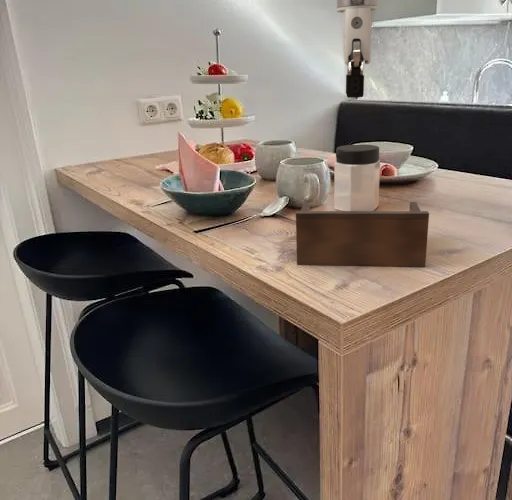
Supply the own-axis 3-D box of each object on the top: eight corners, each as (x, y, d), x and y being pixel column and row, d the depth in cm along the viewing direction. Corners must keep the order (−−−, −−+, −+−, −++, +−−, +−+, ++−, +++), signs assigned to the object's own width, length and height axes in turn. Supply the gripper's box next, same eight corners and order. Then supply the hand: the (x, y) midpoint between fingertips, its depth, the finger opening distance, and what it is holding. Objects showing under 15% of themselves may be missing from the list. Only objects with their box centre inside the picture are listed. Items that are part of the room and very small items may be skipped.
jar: (342, 201, 106) (343, 143, 101) (381, 203, 102) (383, 144, 98) (329, 212, 98) (329, 150, 94) (371, 215, 95) (373, 151, 90)
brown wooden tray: (296, 264, 73) (295, 213, 70) (304, 236, 85) (303, 191, 82) (425, 267, 70) (429, 213, 67) (414, 237, 82) (417, 190, 79)
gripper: (380, -5, 87) (376, 98, 93) (373, 5, 103) (370, 92, 109) (336, -2, 88) (335, 99, 94) (336, 8, 104) (335, 93, 110)
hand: (354, 95), depth 102 cm, fingers open, 9 cm apart
